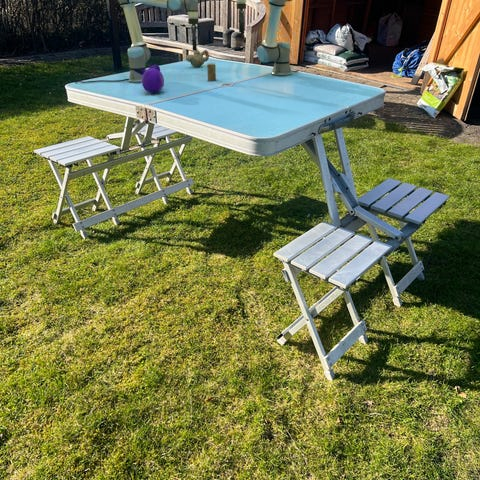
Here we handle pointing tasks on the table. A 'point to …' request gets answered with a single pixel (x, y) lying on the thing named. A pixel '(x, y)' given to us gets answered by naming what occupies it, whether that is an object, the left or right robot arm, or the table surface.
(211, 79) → the block
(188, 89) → the table surface
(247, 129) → the table surface
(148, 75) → the toy
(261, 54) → the right robot arm
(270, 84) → the table surface
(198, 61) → the tan lumpy piece
